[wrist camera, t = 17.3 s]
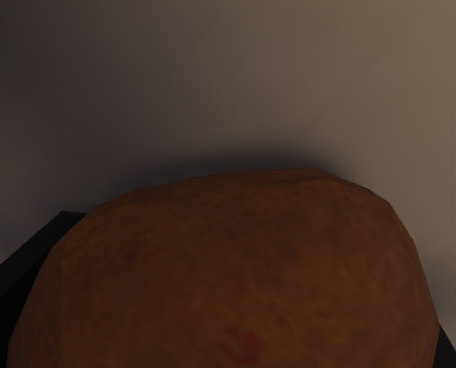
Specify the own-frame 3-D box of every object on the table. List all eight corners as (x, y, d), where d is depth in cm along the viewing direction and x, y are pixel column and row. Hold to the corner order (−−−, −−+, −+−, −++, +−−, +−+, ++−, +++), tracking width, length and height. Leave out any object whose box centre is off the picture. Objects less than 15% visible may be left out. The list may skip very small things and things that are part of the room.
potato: (437, 259, 12) (678, 586, 5) (193, 393, 15) (131, 694, 8) (270, 44, 10) (276, 78, 3) (33, 253, 13) (-220, 496, 6)
